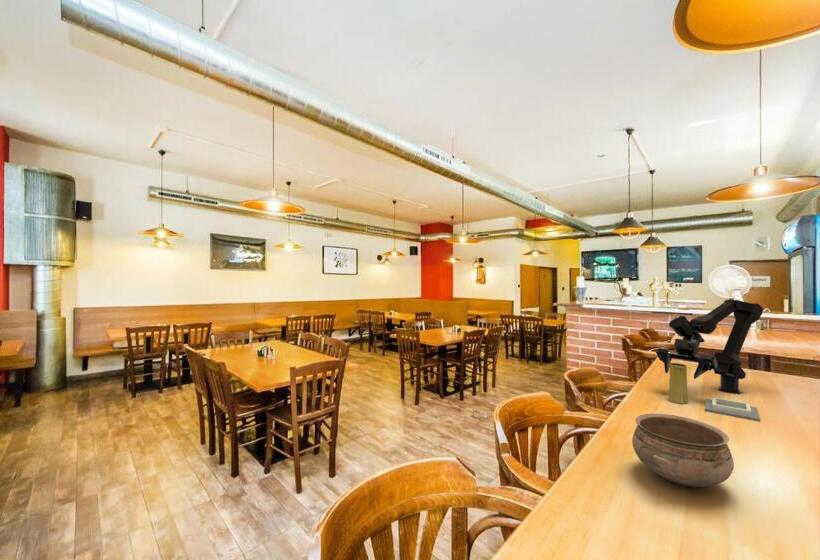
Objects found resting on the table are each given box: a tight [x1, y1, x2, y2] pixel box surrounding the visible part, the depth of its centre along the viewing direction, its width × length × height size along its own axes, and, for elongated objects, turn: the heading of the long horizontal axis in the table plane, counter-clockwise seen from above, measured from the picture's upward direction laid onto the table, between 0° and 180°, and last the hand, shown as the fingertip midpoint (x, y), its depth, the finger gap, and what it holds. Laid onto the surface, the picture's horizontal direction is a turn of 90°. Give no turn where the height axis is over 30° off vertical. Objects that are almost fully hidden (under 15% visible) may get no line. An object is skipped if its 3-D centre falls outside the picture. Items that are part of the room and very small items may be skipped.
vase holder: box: [704, 396, 761, 422], centre depth 125 cm, size 14×14×2 cm
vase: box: [667, 362, 689, 405], centre depth 134 cm, size 6×6×14 cm
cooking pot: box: [631, 413, 735, 488], centre depth 83 cm, size 25×19×12 cm
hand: (679, 375), depth 136 cm, fingers open, 9 cm apart
